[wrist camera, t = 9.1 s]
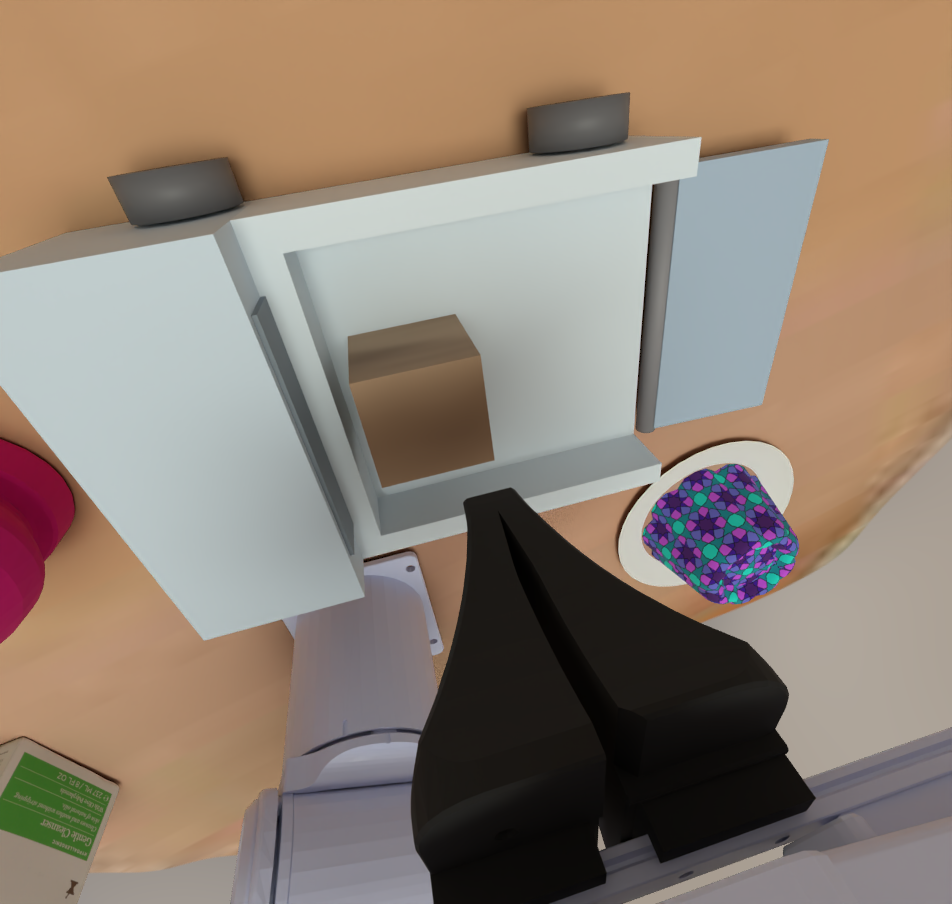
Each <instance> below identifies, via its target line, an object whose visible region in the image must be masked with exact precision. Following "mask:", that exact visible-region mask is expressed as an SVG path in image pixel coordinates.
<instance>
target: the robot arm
mask: <svg viewBox="0 0 952 904" xmlns="http://www.w3.org/2000/svg"><path fill="white" fill-rule="evenodd" d="M463 506H464V511H465V516H466V521H467V562H466V571H465V580H464V588H463V595H462V601H461V607H460V612H459V617H458V622H457V626H456V630H455V634H454V638H453V642H452V646H451V650H450V654H449V657H448V661H447V664H446V667H445V670H444V673H443V676H442V679H441V682H440V685H439V688H437V682H436V676H435V670H434V665H433V659H432V656H433V655H437V654H439V653H441V652H442V651H443V649H444V647H443V643H442V639H441V636H440V632H439V629H438V626H437V622H436V619H435V616H434V612H433V609H432V605H431V602H430V599H429V595H428V592H427V589H426V585H425V582H424V578H423V575H422V572H421V568H420V565H419V562H418V558H417V555H416V554H415V553H414V552H410V551H409V552H404V553H400V554H396V555H392V556H389V557H385V558H381V559H377V560H373V561H370V562H366V563H363V564H364V584H365V597H363V598H359V599H355V600H352V601H348V602H344V603H341V604H337V605H333V606H330V607H326V608H322V609H319V610H315V611H311V612H308V613H304V614H300V615H296V616H293V617H289V618H285V619H282V620H283V622H284V623H285V625H286V627H287V628H288V630H289V632H290V633H291V635H292V637H293V638H294V651H293V662H292V673H291V683H290V694H289V705H288V715H287V726H286V737H285V747H284V758H283V769H282V776H281V780H280V784H279V789H278V790H277V788H269V789H264V790H262V791H261V792H260V794H259V797H258V799H255V800H254V801H253V802H252V804H251V805H250V806H249V807H248V808H247V809H246V810H245V814H244V819H243V825H242V831H241V837H240V843H239V849H238V855H237V862H236V869H235V875H234V881H233V888H232V895H231V902H230V904H623V903H626V902H629V901H632V900H634V899H637V898H640V897H643V896H645V895H648V894H651V893H654V892H656V891H659V890H662V889H664V888H667V887H670V886H673V885H675V884H678V883H681V882H683V881H686V880H689V879H692V878H694V877H697V876H700V875H703V874H705V873H708V872H711V871H714V870H716V869H719V868H722V867H724V866H727V865H730V864H732V863H735V862H738V861H741V860H744V859H746V858H749V857H752V856H754V855H757V854H760V853H762V852H765V851H768V850H771V849H774V848H776V847H779V846H782V845H784V844H787V843H790V842H792V843H790V844H788V845H786V846H785V847H784V848H783V857H781V858H778V859H776V860H773V861H771V862H768V863H765V864H762V865H759V866H757V867H754V868H751V869H749V870H746V871H743V872H741V873H738V874H735V875H733V876H730V877H727V878H724V879H722V880H719V881H717V882H714V883H711V884H708V885H705V886H703V887H700V888H697V889H695V890H692V891H689V892H686V893H684V894H681V895H678V896H676V897H673V898H670V899H668V900H665V901H662V902H660V903H657V904H952V727H951V728H948V729H945V730H942V731H939V732H937V733H934V734H931V735H928V736H925V737H922V738H919V739H917V740H914V741H911V742H908V743H905V744H902V745H899V746H897V747H894V748H891V749H888V750H885V751H882V752H880V753H877V754H874V755H871V756H868V757H865V758H863V759H860V760H857V761H854V762H851V763H848V764H845V765H843V766H840V767H837V768H834V769H831V770H828V771H826V772H823V773H820V774H817V775H814V776H811V777H808V778H806V779H802V778H801V776H800V775H799V774H798V772H797V771H796V769H795V768H794V767H793V765H792V764H791V762H790V761H789V759H788V758H787V756H786V755H785V754H787V752H788V747H787V745H786V744H785V742H784V741H783V739H782V738H781V737H780V735H779V734H778V732H777V731H776V730H775V728H776V726H777V724H778V722H779V720H780V718H781V716H782V714H783V712H784V710H785V708H786V705H787V702H788V696H789V693H788V690H787V687H786V685H785V684H784V683H783V682H782V680H781V679H780V678H779V677H778V675H777V674H776V673H775V672H774V670H773V669H772V668H771V667H770V666H769V665H768V664H767V662H766V661H765V660H764V659H763V658H762V657H761V656H760V655H759V654H758V653H757V652H756V651H755V650H754V649H753V648H752V647H751V646H750V645H749V644H748V643H747V642H745V641H743V640H740V639H738V638H735V637H733V636H730V635H728V634H726V633H723V632H721V631H718V630H716V629H713V628H711V627H709V626H706V625H704V624H701V623H699V622H697V621H695V620H693V619H691V618H689V617H686V616H684V615H682V614H680V613H678V612H676V611H674V610H672V609H670V608H669V607H667V606H665V605H663V604H661V603H659V602H657V601H656V600H654V599H652V598H650V597H648V596H646V595H645V594H643V593H641V592H639V591H637V590H636V589H634V588H633V587H631V586H629V585H628V584H626V583H624V582H623V581H621V580H620V579H618V578H617V577H615V576H614V575H612V574H611V573H609V572H608V571H606V570H605V569H603V568H602V567H600V566H599V565H598V564H596V563H595V562H593V561H592V560H591V559H589V558H588V557H587V556H585V555H584V554H583V553H582V552H580V551H579V550H578V549H576V548H575V547H574V546H573V545H571V544H570V543H569V542H568V541H567V540H565V539H564V538H563V537H562V536H561V535H560V534H559V533H558V532H556V531H555V530H554V529H553V528H552V527H551V526H550V525H549V524H547V523H546V522H545V521H544V520H543V519H542V518H541V517H540V516H539V515H538V514H537V513H536V512H535V511H534V510H533V509H532V508H531V507H530V506H529V505H528V504H527V503H526V502H525V501H524V500H523V498H522V497H521V496H520V495H519V494H518V493H517V492H516V490H515V489H513V488H511V487H510V488H506V489H502V490H498V491H494V492H490V493H486V494H482V495H478V496H474V497H470V498H466V500H465V501H464V502H463ZM410 565H413V566H411V567H407V566H410ZM598 826H599V828H600V831H601V834H602V837H603V841H604V844H605V847H606V849H603V850H601V851H599V850H598V847H597V844H598ZM793 841H794V842H793Z"/></svg>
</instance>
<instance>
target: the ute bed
mask: <svg viewBox="0 0 952 904" xmlns="http://www.w3.org/2000/svg"><path fill="white" fill-rule="evenodd" d="M629 105H630V92H628V93H621V94H613V95H607V96H600V97H593V98H587V99H580V100H574V101H568V102H562V103H555V104H549V105H543V106H538V107H532V108H527V120H528V138H529V153H524V154H518V155H512V156H506V157H501V158H495V159H489V160H483V161H478V162H472V163H466V164H460V165H454V166H449V167H443V168H437V169H431V170H426V171H420V172H414V173H408V174H403V175H397V176H391V177H385V178H379V179H374V180H368V181H362V182H356V183H351V184H345V185H339V186H333V187H328V188H322V189H316V190H310V191H305V192H299V193H293V194H287V195H281V196H276V197H270V198H264V199H258V200H253V201H247V202H243V199H242V196H241V194H240V191H239V188H238V185H237V183H236V180H235V177H234V175H233V172H232V169H231V167H230V164H229V161H228V158H227V157H225V158H218V159H211V160H205V161H198V162H192V163H186V164H180V165H174V166H168V167H162V168H156V169H150V170H144V171H138V172H132V173H127V174H121V175H116V176H111V177H107V178H108V180H109V182H110V184H111V186H112V188H113V190H114V192H115V194H116V196H117V198H118V200H119V202H120V204H121V206H122V208H123V210H124V212H125V214H126V216H127V218H128V220H129V222H126V223H120V224H114V225H108V226H103V227H97V228H91V229H85V230H80V231H74V232H68V233H64V234H61V235H59V236H56V237H53V238H51V239H48V240H45V241H42V242H40V243H37V244H34V245H32V246H29V247H26V248H24V249H21V250H18V251H16V252H13V253H10V254H7V255H5V256H2V257H0V386H1V387H2V388H3V389H4V391H5V392H6V393H7V394H8V396H9V397H10V398H11V399H12V401H13V402H14V403H15V404H16V406H17V407H18V408H19V409H20V411H21V412H22V413H23V414H24V416H25V417H26V418H27V419H28V421H29V422H30V423H31V424H32V426H33V427H34V428H35V429H36V431H37V432H38V433H39V434H40V436H41V437H42V438H43V439H44V441H45V442H46V443H47V444H48V446H49V447H50V448H51V449H52V451H53V452H54V453H55V455H56V456H57V457H58V458H59V460H60V461H61V462H62V463H63V465H64V466H65V467H66V468H67V470H68V471H69V472H70V473H71V475H72V476H73V477H74V478H75V480H76V481H77V482H78V483H79V485H80V486H81V487H82V488H83V490H84V491H85V492H86V493H87V495H88V496H89V497H90V498H91V500H92V501H93V502H94V503H95V505H96V506H97V507H98V508H99V510H100V511H101V512H102V513H103V515H104V516H105V517H106V518H107V520H108V521H109V522H110V523H111V525H112V526H113V527H114V528H115V530H116V531H117V532H118V533H119V535H120V536H121V537H122V538H123V540H124V541H125V542H126V543H127V545H128V546H129V547H130V548H131V550H132V551H133V552H134V554H135V555H136V556H137V557H138V559H139V560H140V561H141V562H142V564H143V565H144V566H145V567H146V569H147V570H148V571H149V572H150V574H151V575H152V576H153V577H154V579H155V580H156V581H157V582H158V584H159V585H160V586H161V587H162V589H163V590H164V591H165V592H166V594H167V595H168V596H169V597H170V599H171V600H172V601H173V602H174V604H175V605H176V606H177V607H178V609H179V610H180V611H181V612H182V614H183V615H184V616H185V617H186V619H187V620H188V621H189V622H190V624H191V625H192V626H193V627H194V629H195V630H196V631H197V632H198V634H199V635H200V636H201V637H202V639H203V640H208V639H212V638H216V637H219V636H223V635H227V634H230V633H234V632H238V631H241V630H245V629H249V628H252V627H256V626H260V625H263V624H267V623H271V622H274V621H278V620H282V619H285V618H289V617H293V616H296V615H300V614H304V613H308V612H311V611H315V610H319V609H322V608H326V607H330V606H333V605H337V604H341V603H344V602H348V601H352V600H355V599H359V598H363V597H365V584H364V564H363V559H365V558H369V557H373V556H376V555H380V554H384V553H388V552H392V551H396V550H399V549H403V548H407V547H411V546H415V545H418V544H422V543H426V542H430V541H434V540H437V539H441V538H445V537H449V536H453V535H456V534H460V533H464V532H467V521H466V516H465V511H464V506H463V502H464V501H465V500H466V498H470V497H474V496H478V495H482V494H486V493H490V492H494V491H498V490H502V489H506V488H510V487H511V488H513V489H515V490H516V492H517V493H518V494H519V495H520V496H521V497H522V498H523V500H524V501H525V502H526V503H527V504H528V505H529V506H530V507H531V508H532V509H533V510H534V511H535V512H536V513H540V512H544V511H548V510H552V509H555V508H559V507H563V506H567V505H571V504H574V503H578V502H582V501H586V500H590V499H594V498H597V497H601V496H605V495H609V494H613V493H616V492H620V491H624V490H628V489H632V488H635V487H639V486H643V485H647V484H651V483H654V482H658V481H660V474H661V465H662V463H661V462H660V461H659V460H658V459H657V458H656V457H655V456H654V455H653V454H652V453H651V452H650V451H649V450H648V449H647V448H646V447H645V446H644V444H643V443H642V442H641V441H640V440H639V439H638V438H637V437H636V436H635V435H634V421H635V407H636V394H637V381H638V367H639V354H640V341H641V327H642V314H643V301H644V287H645V274H646V261H647V247H648V234H649V221H650V207H651V194H652V184H658V183H663V182H668V181H674V180H679V179H685V178H690V177H695V176H697V170H698V162H699V154H700V145H701V137H675V136H628V126H629ZM452 314H456V316H457V318H458V319H459V321H460V322H461V324H462V326H463V327H464V329H465V331H466V332H467V334H468V335H469V337H470V339H471V340H472V342H473V344H474V345H475V347H476V348H477V350H478V352H479V353H480V355H481V362H482V369H483V377H484V384H485V392H486V399H487V407H488V414H489V422H490V429H491V436H492V444H493V451H494V459H495V460H494V461H490V462H486V463H482V464H478V465H474V466H470V467H466V468H462V469H458V470H453V471H449V472H445V473H441V474H437V475H433V476H429V477H425V478H421V479H417V480H413V481H409V482H405V483H401V484H397V485H393V486H389V487H385V488H382V486H381V483H380V480H379V477H378V474H377V471H376V468H375V464H374V461H373V458H372V455H371V452H370V449H369V446H368V443H367V439H366V436H365V433H364V430H363V427H362V424H361V421H360V418H359V414H358V411H357V408H356V405H355V402H354V399H353V396H352V393H351V389H350V386H349V371H348V336H352V335H357V334H362V333H366V332H371V331H376V330H381V329H386V328H390V327H395V326H400V325H405V324H409V323H414V322H419V321H424V320H429V319H433V318H438V317H443V316H448V315H452Z"/></svg>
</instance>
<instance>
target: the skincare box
mask: <svg viewBox="0 0 952 904" xmlns="http://www.w3.org/2000/svg"><path fill="white" fill-rule="evenodd" d="M118 792H119V786H118V785H117V784H115V783H113V782H111V781H109V780H106V779H104V778H102V777H101V776H99V775H97V774H95V773H94V772H92V771H90V770H88V769H86V768H84V767H81V766H79V765H77V764H76V763H74V762H72V761H70V760H68V759H66V758H64V757H62V756H60V755H58V754H56V753H54V752H52V751H50V750H48V749H46V748H44V747H42V746H40V745H38V744H37V743H35V742H33V741H31V740H29V739H27V738H24V737H21V738H19V739H16V740H14V741H11V742H9V743H6V744H4V745H1V746H0V904H77V902H78V900H79V897H80V894H81V891H82V889H83V886H84V883H85V880H86V878H87V875H88V872H89V870H90V867H91V865H92V862H93V859H94V856H95V854H96V851H97V849H98V846H99V843H100V840H101V838H102V835H103V832H104V830H105V827H106V824H107V821H108V818H109V816H110V813H111V811H112V808H113V805H114V803H115V800H116V797H117V795H118Z"/></svg>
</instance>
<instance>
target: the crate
mask: <svg viewBox="0 0 952 904" xmlns="http://www.w3.org/2000/svg"><path fill="white" fill-rule="evenodd" d="M348 371H349V386H350V389H351V393H352V396H353V399H354V402H355V405H356V408H357V411H358V414H359V418H360V421H361V424H362V427H363V430H364V433H365V436H366V439H367V443H368V446H369V449H370V452H371V455H372V458H373V461H374V464H375V468H376V471H377V474H378V477H379V480H380V483H381V486H382V488H385V487H389V486H393V485H397V484H401V483H405V482H409V481H413V480H417V479H421V478H425V477H429V476H433V475H437V474H441V473H445V472H449V471H453V470H458V469H462V468H466V467H470V466H474V465H478V464H482V463H486V462H490V461H494V460H495V459H494V451H493V444H492V436H491V429H490V422H489V414H488V407H487V399H486V392H485V384H484V377H483V369H482V362H481V355H480V353H479V352H478V350H477V348H476V347H475V345H474V344H473V342H472V340H471V339H470V337H469V335H468V334H467V332H466V331H465V329H464V327H463V326H462V324H461V322H460V321H459V319H458V318H457V316H456V314H452V315H448V316H443V317H438V318H433V319H429V320H424V321H419V322H414V323H409V324H405V325H400V326H395V327H390V328H386V329H381V330H376V331H371V332H366V333H362V334H357V335H352V336H348Z"/></svg>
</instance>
